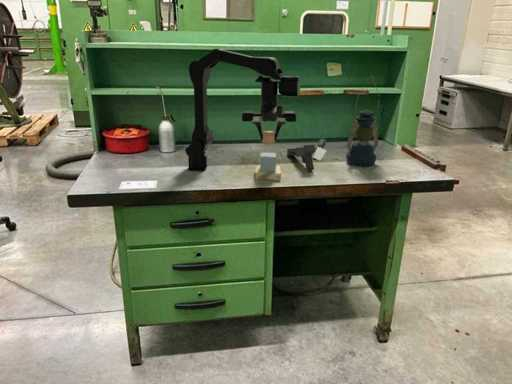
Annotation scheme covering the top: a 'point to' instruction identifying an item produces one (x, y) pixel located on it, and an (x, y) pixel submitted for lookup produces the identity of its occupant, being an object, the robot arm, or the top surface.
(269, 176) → the beech slab
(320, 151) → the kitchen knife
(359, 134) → the lantern
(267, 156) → the blue-grey cube
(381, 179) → the top surface
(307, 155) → the handgun
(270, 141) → the orange-tan rounded lump
